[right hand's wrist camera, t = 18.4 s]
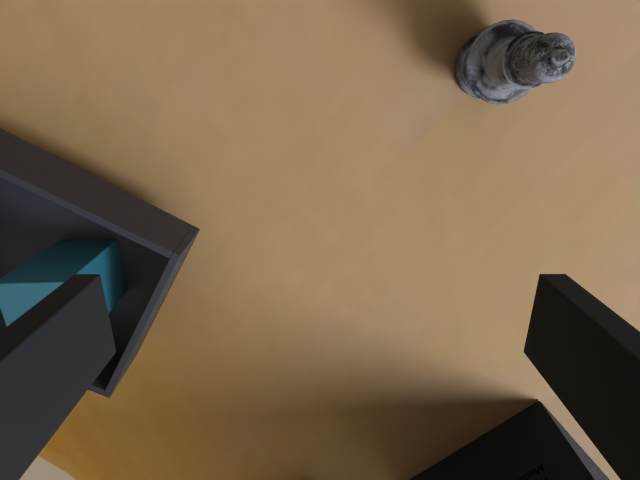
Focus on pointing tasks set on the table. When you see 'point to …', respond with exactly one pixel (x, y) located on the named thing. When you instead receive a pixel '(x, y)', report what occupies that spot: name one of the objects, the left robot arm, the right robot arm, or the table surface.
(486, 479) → the cardboard box
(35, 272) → the block
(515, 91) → the stone chess piece
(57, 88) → the table surface
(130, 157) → the table surface
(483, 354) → the table surface
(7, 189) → the tray
